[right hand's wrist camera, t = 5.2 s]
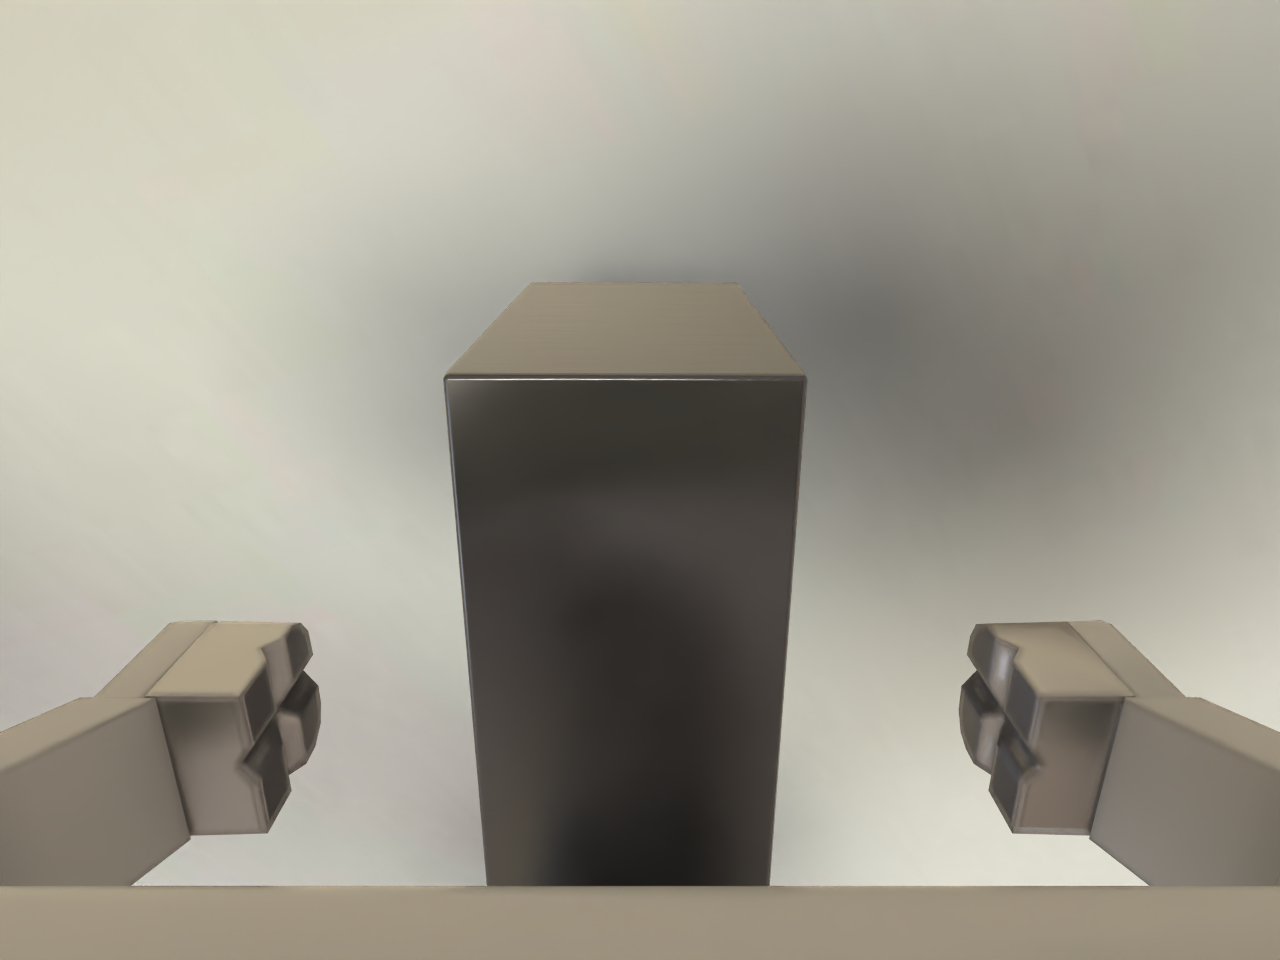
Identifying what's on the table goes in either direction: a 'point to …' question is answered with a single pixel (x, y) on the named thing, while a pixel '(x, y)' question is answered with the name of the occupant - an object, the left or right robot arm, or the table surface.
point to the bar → (627, 580)
